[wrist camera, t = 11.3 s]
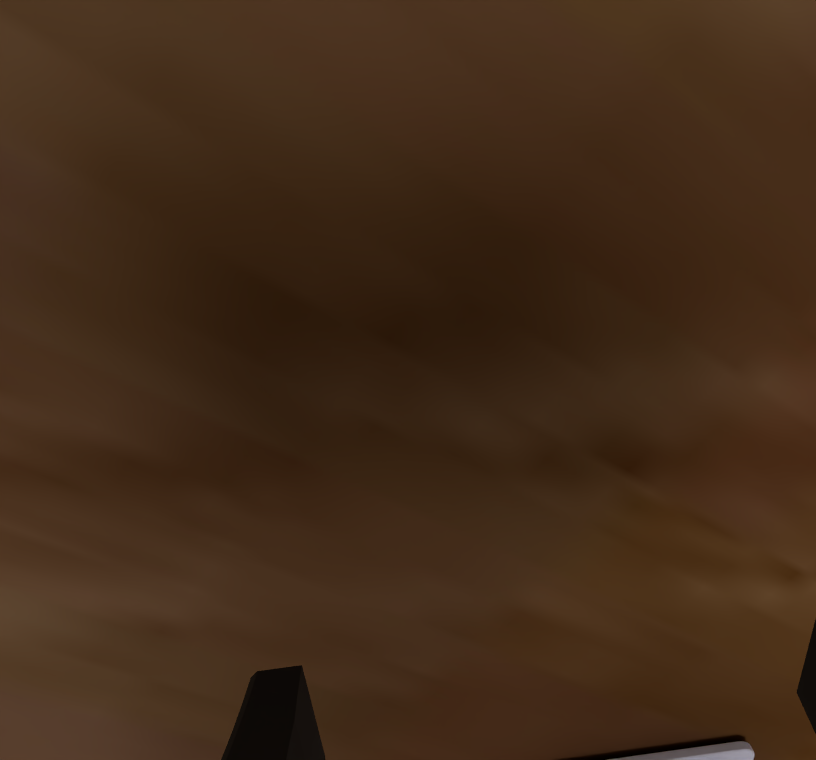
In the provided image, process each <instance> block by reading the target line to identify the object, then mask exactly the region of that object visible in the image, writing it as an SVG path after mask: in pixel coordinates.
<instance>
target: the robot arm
mask: <svg viewBox="0 0 816 760" xmlns="http://www.w3.org/2000/svg"><path fill="white" fill-rule="evenodd" d="M797 694H798V696H799V698H800V701H801V703H802V705H803V707H804V709H805V712H806V714H807V716H808V718H809V720H810V722H811V725H812V727H813V729H814V731H815V733H816V620H815V624H814V627H813V631H812V635H811V639H810V643H809V647H808V651H807V655H806V658H805V662H804V666H803V670H802V674H801V678H800V682H799V685H798V689H797ZM221 760H325V755H324V751H323V747H322V743H321V739H320V735H319V731H318V727H317V723H316V719H315V715H314V711H313V707H312V703H311V699H310V695H309V692H308V688H307V684H306V680H305V676H304V672H303V668H302V665H301V666H293V667H286V668H279V669H271V670H264V671H257V672H256V673H255V674H254V675H253V676H252V677H251V679H250V682H249V685H248V688H247V691H246V694H245V697H244V700H243V703H242V706H241V709H240V712H239V715H238V717H237V720H236V723H235V726H234V728H233V731H232V734H231V736H230V739H229V741H228V744H227V747H226V749H225V752H224V754H223V757H222V759H221ZM607 760H754V751H753V749H752V747H751V745H750V744H749V743H747V742H744V741H737V742H730V743H722V744H715V745H708V746H701V747H694V748H686V749H679V750H672V751H665V752H658V753H650V754H643V755H636V756H629V757H621V758H614V759H607Z"/></svg>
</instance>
